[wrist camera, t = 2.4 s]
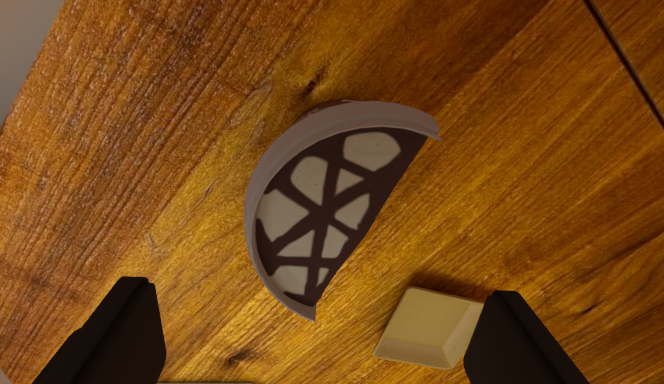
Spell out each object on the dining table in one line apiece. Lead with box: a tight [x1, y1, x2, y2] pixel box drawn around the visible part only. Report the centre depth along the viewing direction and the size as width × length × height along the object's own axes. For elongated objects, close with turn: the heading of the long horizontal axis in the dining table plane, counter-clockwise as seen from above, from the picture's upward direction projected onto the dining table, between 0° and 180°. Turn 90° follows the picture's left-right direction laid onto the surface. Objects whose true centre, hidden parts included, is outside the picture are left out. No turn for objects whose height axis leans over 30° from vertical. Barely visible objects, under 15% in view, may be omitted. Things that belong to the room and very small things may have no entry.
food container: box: [244, 99, 442, 322], centre depth 19 cm, size 12×6×10 cm, turn 151°
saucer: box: [372, 286, 485, 370], centre depth 31 cm, size 9×9×2 cm
